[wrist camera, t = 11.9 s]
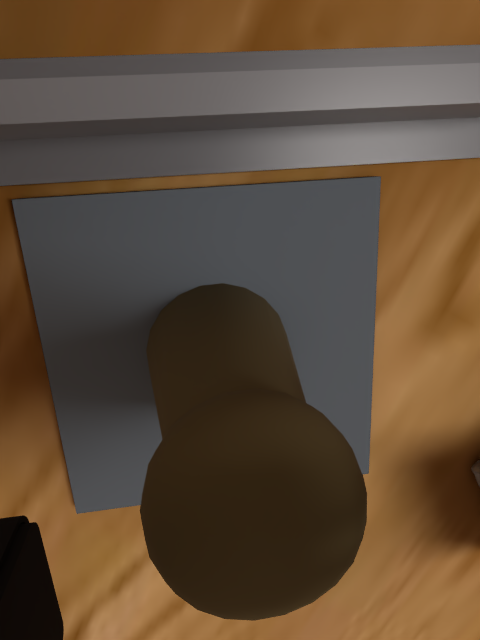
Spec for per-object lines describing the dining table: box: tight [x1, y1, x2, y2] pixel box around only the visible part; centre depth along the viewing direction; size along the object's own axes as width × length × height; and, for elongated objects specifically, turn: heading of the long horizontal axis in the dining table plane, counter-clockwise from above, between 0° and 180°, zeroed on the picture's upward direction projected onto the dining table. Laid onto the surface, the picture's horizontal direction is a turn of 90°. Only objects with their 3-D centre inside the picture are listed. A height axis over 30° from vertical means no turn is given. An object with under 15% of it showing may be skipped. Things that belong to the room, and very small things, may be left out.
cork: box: [140, 283, 367, 620], centre depth 14 cm, size 6×6×11 cm
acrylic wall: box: [0, 45, 480, 186], centre depth 15 cm, size 22×4×6 cm, turn 93°
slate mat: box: [12, 176, 381, 514], centre depth 20 cm, size 14×14×1 cm
